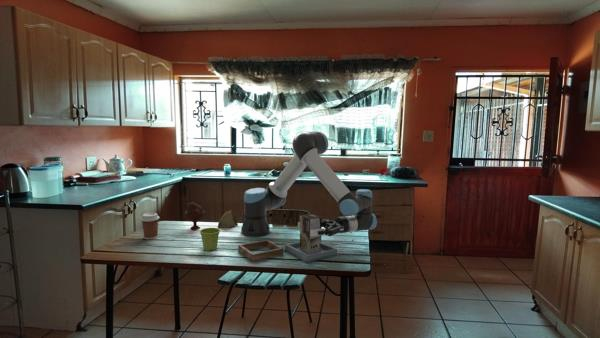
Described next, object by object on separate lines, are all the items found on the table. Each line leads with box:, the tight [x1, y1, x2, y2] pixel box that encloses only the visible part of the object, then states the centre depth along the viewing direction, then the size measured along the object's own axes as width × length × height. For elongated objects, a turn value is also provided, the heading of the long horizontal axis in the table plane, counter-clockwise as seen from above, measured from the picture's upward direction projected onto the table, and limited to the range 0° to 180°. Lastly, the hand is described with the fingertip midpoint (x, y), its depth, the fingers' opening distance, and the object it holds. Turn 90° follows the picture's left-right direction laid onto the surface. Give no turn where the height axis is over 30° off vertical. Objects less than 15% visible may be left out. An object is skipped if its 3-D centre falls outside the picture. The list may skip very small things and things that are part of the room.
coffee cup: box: [140, 212, 161, 240], centre depth 184 cm, size 9×9×12 cm
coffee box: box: [299, 213, 323, 254], centre depth 161 cm, size 9×6×16 cm
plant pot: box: [199, 227, 221, 252], centre depth 168 cm, size 9×9×9 cm
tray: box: [284, 240, 338, 264], centre depth 162 cm, size 18×16×3 cm
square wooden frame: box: [237, 239, 284, 262], centre depth 162 cm, size 15×15×3 cm
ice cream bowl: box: [183, 201, 206, 231], centre depth 200 cm, size 11×11×15 cm
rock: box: [217, 209, 239, 228], centre depth 206 cm, size 11×9×10 cm
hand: (303, 229), depth 160 cm, fingers open, 13 cm apart
